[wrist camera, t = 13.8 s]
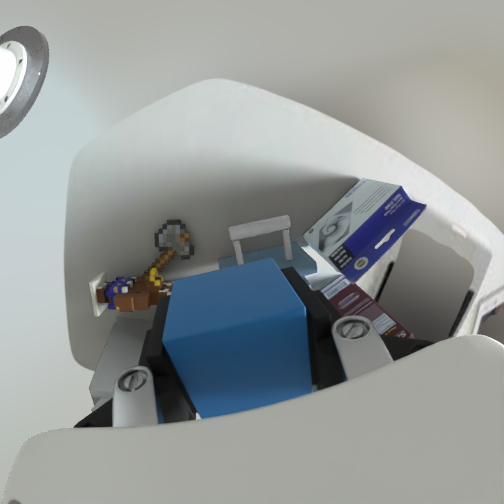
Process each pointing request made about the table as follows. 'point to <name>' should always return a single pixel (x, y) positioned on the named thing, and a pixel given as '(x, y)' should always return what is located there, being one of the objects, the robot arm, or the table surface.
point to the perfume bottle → (117, 357)
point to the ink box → (363, 226)
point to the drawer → (281, 254)
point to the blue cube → (238, 338)
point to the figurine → (142, 276)
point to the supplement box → (362, 307)
